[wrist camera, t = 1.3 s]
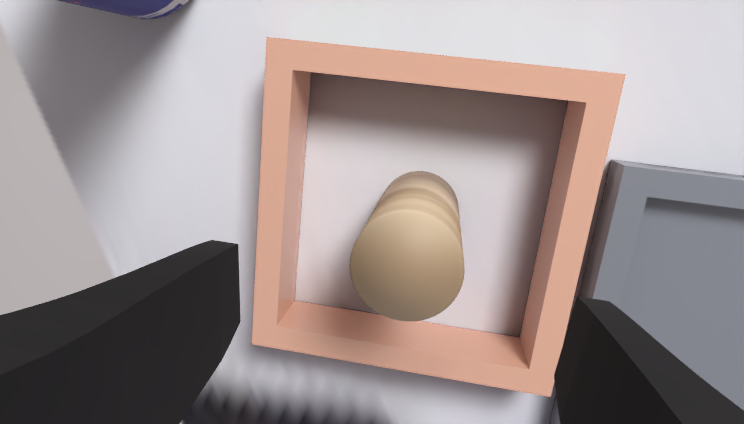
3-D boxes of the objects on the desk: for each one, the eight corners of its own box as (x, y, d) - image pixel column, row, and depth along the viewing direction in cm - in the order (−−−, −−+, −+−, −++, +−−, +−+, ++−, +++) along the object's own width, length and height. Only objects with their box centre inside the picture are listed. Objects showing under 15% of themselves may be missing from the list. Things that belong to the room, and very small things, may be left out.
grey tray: (761, 544, 22) (783, 575, 21) (532, 498, 23) (537, 525, 22) (899, 195, 18) (938, 204, 16) (611, 159, 19) (624, 165, 18)
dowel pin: (452, 251, 21) (455, 330, 14) (377, 240, 21) (344, 311, 14) (464, 176, 20) (473, 222, 13) (385, 166, 20) (355, 205, 14)
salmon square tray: (539, 362, 21) (550, 397, 19) (272, 316, 23) (251, 344, 20) (601, 76, 18) (625, 74, 16) (288, 43, 20) (266, 37, 17)
